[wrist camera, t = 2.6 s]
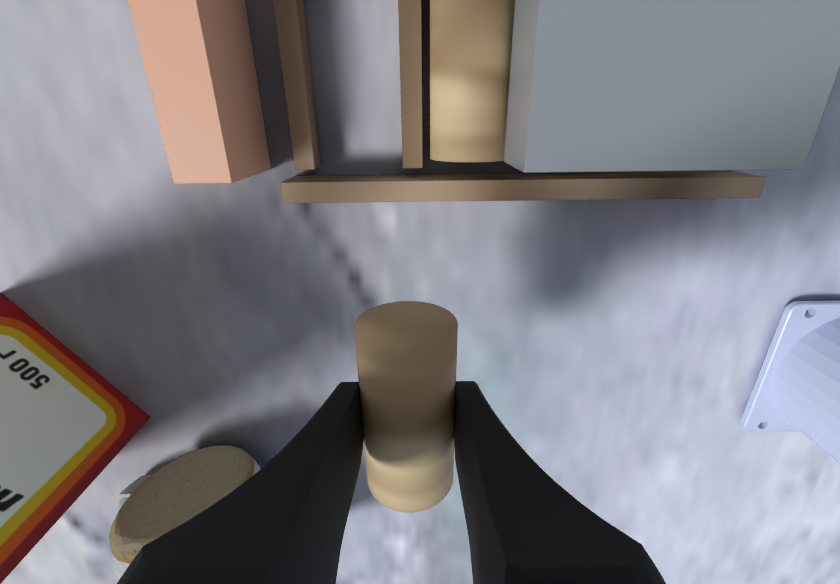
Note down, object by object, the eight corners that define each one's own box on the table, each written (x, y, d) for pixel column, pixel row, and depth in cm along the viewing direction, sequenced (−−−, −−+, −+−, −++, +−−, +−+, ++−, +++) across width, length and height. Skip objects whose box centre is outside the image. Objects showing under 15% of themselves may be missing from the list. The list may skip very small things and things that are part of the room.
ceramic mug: (271, 424, 23) (202, 558, 16) (317, 519, 26) (277, 666, 19) (109, 453, 24) (-21, 590, 17) (172, 541, 28) (84, 686, 21)
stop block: (240, -30, 15) (180, -79, 11) (271, 169, 17) (231, 182, 14) (186, -29, 15) (108, -78, 11) (225, 169, 17) (173, 183, 14)
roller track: (800, -77, 14) (900, -128, 11) (724, 189, 18) (784, 203, 15) (262, -69, 14) (221, -117, 11) (297, 194, 18) (273, 209, 15)
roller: (358, 302, 13) (349, 352, 10) (450, 299, 13) (465, 347, 10) (370, 444, 15) (364, 515, 13) (447, 440, 16) (459, 509, 13)
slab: (789, -54, 12) (901, -106, 9) (729, 159, 14) (802, 169, 11) (518, -50, 12) (547, -100, 9) (504, 161, 14) (523, 172, 12)
